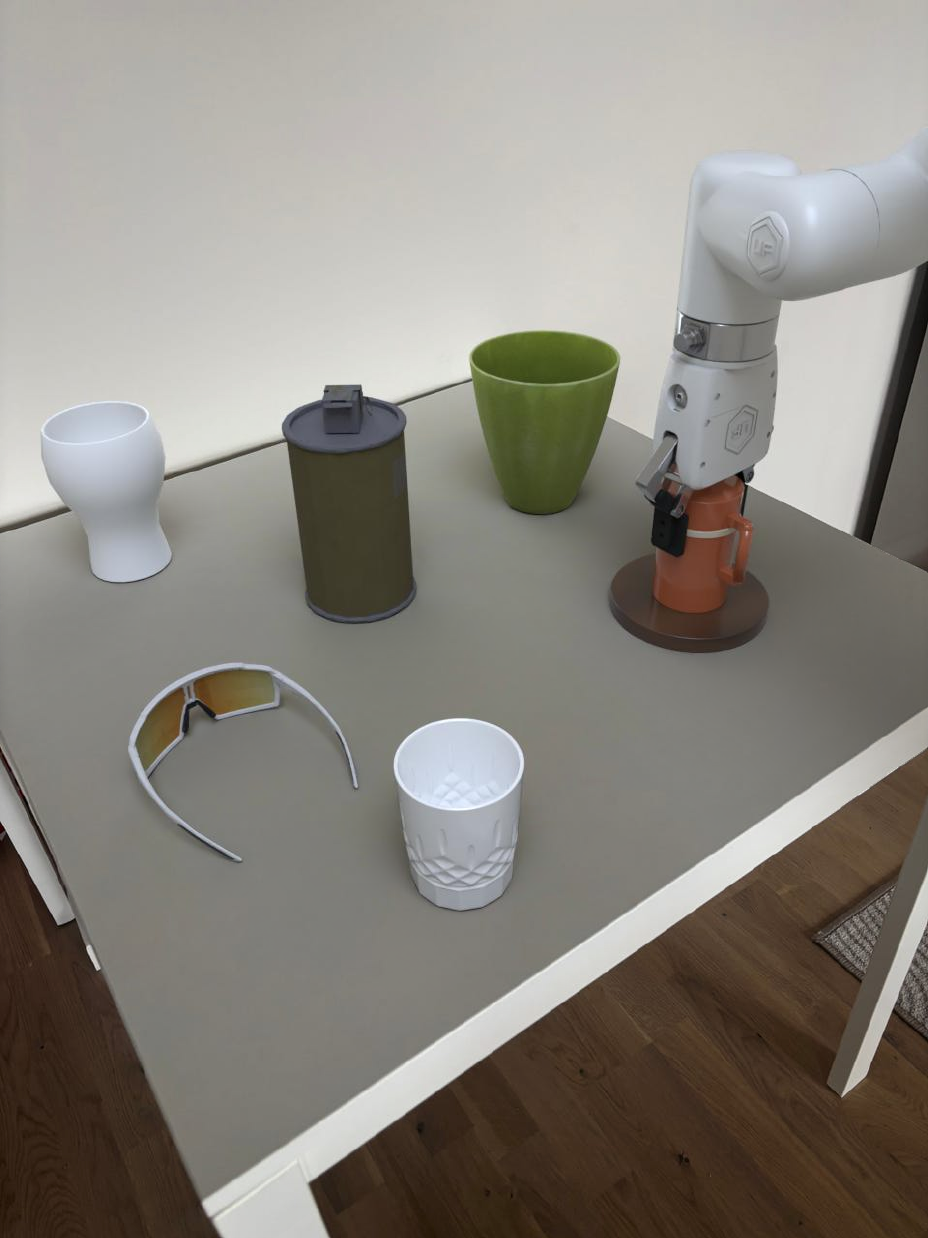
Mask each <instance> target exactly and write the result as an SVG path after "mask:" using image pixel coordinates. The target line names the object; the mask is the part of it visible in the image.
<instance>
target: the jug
mask: <svg viewBox="0 0 928 1238" xmlns="http://www.w3.org/2000/svg"><path fill="white" fill-rule="evenodd" d="M675 472H676V473H678V474H679V472H678V467H677V468H676V469H675ZM680 486H681V485H680V484H678V483H676V482H674V481H672V483H671V485H670V488H669V490H668V492H669V493H670V494H671V495H672V496H673V497H674V498H676V496H677V493H678V491H679V489H680ZM743 494H744V484H743V482H742V481H741V479H740V478H738V477H737V476H736V475H732V476H730V477H728V478H726V479H724V480H722V481H719V482H717V483H715V484H713V485H711V486H709V487H706V488H704V489H701V490H693V492H692V495H691V497H690V499H689V502H688V504H687V506H686V509H685V511H684V513H686V514H687V515H689V520H688V528H687V535H686V543H685V550H684V554H683V555H682V556H680V557H675V556H673V555H671V554H669V553H667V552H665V551H663V550H661V549H659V548H657V547H655V554H656V557H655V566H654V575H653V584H652V592H653V595H654V597H655V598H656V599H657V600H658V601H659V602H660V603H661V604H663V605H664V606H666V607H668V608H670V609H673V610H676V611H680V612H686V613H703V612H709V611H712V610H715V609H717V608H718V607H720V606H721V605H722V604H723V603H724V602H725V600H726V597H727V591H728V585H729V584H731V585H732V586H736V585H741V584H743V583H744V580H745V574H746V570H747V568H748V563H749V557H750V551H751V545H752V541H753V535H754V525H753V523H752V520H750V519H748V518H747V517H745V516H744V515H743V516H741V507H742V500H743ZM738 532H739V536H738V542H737V535H738ZM736 542H737V548H736ZM735 549H736V553H735ZM734 553H735V554H734ZM734 555H735V560H734ZM733 560H734V564H735V565H734V569H732V568H731V567H732V563H733Z"/></svg>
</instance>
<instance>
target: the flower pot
mask: <svg viewBox="0 0 928 1238" xmlns="http://www.w3.org/2000/svg"><path fill="white" fill-rule="evenodd" d="M468 361H469V367H470V374H471V379H472V381H471V382H472V386H473V393H474V399H475V403H476V409H477V413H478V418H479V422H480V427H481V430H482V435H483V439H484V441H485V446H486V448H487V452H488V455H489V458H490V459H489V460H490V461H491V465H492V467H493V471H494V473H495V477H496V479H497V482H498V485H499V487H500V489H501V491H502V494H503V496H504V499H505V502H506V503H507V504H508V505H509V506H510V507H512V508H513V509H515V510H517V511H520V512H522V513H527V514H534V515H548V514H550V515H551V514H555V513H560V512H561V511H564V510H566V509H567V508H569V507H570V506H571V505H572V504H573V503H574V500H575V498H576V496H577V495H578V492H579V491H580V488H581V486H582V484H583V482H584V479H585V478H586V476H587V473H588V471H589V469H590V466H591V464H592V461H593V458H594V456H595V453H596V451H597V449H598V445H599V442H600V440H601V436H602V434H603V430H604V428H605V425H606V421H607V418H608V414H609V410H610V407H611V403H612V400H613V395H614V391H615V386H616V383H617V378H618V373H619V368H620V365H621V355H620V353H619V351H618V350H617V349H616V348H615V346H613V345H611V344H610V343H608V342H607V341H604V340H602V339H600V338H597V337H594V336H590V335H587V334H582V333H578V332H572V331H564V330H543V329H540V330H539V329H538V330H524V331H515V332H509V333H504V334H500V335H497V336H494V337H491V338H488V339H485V340H483V341H481V342H480V343H478V344H477V345H476V346H474V347H473V348H472V350H471V351H470V353H469V355H468Z"/></svg>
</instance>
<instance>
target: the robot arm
mask: <svg viewBox="0 0 928 1238" xmlns="http://www.w3.org/2000/svg"><path fill="white" fill-rule="evenodd" d="M686 210H687V211H686V219H685V229H684V238H683V239H684V240H683V247H682V256H681V264H680V273H679V274H680V275H679V284H678V295H677V303H676V313H675V321H674V322H675V323H674V330H673V338H672V339H673V341H672V352H673V353H671V354H670V357H669V360H668V364H667V366H666V371H665V374H664V378H663V383H662V387H661V391H660V396H659V400H658V406H657V411H656V417H655V423H654V430H653V439H652V448H651V449H652V451H651V457H650V458H649V460H648V461H647V463H646V464H644V467H643V468H642V469H641V471H640V472H639V474H638V475H637V477H636V479H635V486H636V487H637V488H638V490H639V491H640V492H641V493H642V494H643V496H644V498H645V499H646V500H647V501H648V502H649V505H650V506H651V507H652V508H653V518H652V527H651V535H650V536H651V537H650V542H651V545H652V546H654V547H655V548H659V549H661V550H663V551H665V552H667V553H669V554H671V555H673V556H675V557H680V556H682V555H683V554H684V550H685V543H686V535H687V528H688V520H689V515H687V514H686V513H684V511H685V509H686V506H687V504H688V502H689V499H690V497H691V495H692V492H693V490H701V489H704V488H706V487H709V486H711V485H713V484H715V483H717V482H719V481H722V480H724V479H726V478H728V477H730V476H732V475H736V476H737V477H738V478H740V479H741V481H742V482H743V484H744V494H743V500H742V507H741V516H743V517H744V513H745V508H746V501H747V495H748V490H749V485H748V484H749V483H751V482H752V481H753V479H754V476H755V468H754V467H755V466H756V464H758V463H759V462H761V461H762V460H764V458H765V457H766V456H767V454H768V452H769V449H770V446H771V445H770V444H771V440H772V434H773V432H774V429H775V426H774V418H775V413H776V412H775V410H776V400H777V390H778V375H779V374H778V373H779V372H778V371H779V367H778V366H779V365H778V359H779V358H778V348H777V344H776V339H777V337H776V336H777V333H778V326H779V320H780V315H781V308H782V305H783V304H782V303H783V302H799V301H801V302H802V301H804V300H810V299H813V298H818V297H821V296H822V297H823V296H825V295H826V296H827V295H830V294H834V293H837V292H841V291H844V290H846V289H849V288H852V287H857V286H859V285H865V284H868V283H869V284H870V283H872V282H876V281H881V280H884V279H888V278H893V277H896V276H898V275H899V276H900V275H902V274H904V273H907V272H909V271H911V270H914V269H915V268H917V267H919V266H921V265H923V264H925V263H926V262H928V124H927V125H926V126H925V127H923V128H921V130H920V131H918V132H917V133H916V134H914V136H912V137H911V139H909V140H908V141H907V142H905V143H904V144H903V145H902V146H900V147H899V148H898V149H897V150H895V151H894V152H892V153H891V154H889V155H888V156H887V157H885V158H883V159H879V160H873V161H867V162H859V163H856V164H850V165H845V166H838V167H834V168H828V169H826V170H821V171H814V172H807V173H802V172H801V168H800V167H799V165H798V163H796V160H794V159H792V158H791V157H788V156H787V155H783V154H781V153H777V152H772V151H762V150H728V151H727V150H725V151H721V152H716V153H713V154H710V155H708V156H706V157H704V158H702V160H700V161H699V162H698V164H697V165H696V166H695V167H694V170H693V172H692V176H691V179H690V184H689V191H688V201H687V209H686ZM677 467H678V472H679V474H678V473H676V472H675V469H676V468H677ZM672 481H674V482H676V483H678V484H680V485H681V486H680V489H679V491H678V493H677V496H676V498H674V497H673V496H672V495H671V494H670V493H669V492H668V490H669V488H670V485H671V483H672Z"/></svg>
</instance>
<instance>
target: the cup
mask: <svg viewBox="0 0 928 1238" xmlns="http://www.w3.org/2000/svg"><path fill="white" fill-rule="evenodd" d="M40 448H41V449H40V453H41V460H42V464H43V467H44V470H45V473H46V477H47V479H48V482H49V484H50V485H51V487H52V488H53V490H54V491H55V493H56V494H57V496H58V497H59V499H60V500H61V502H62V503H63V504H64V505H65V506H66V507H67V508H68V509H69V510H70V511H71V512H72V513H73V514H75V516H77V518H79V520H80V523H81V525H82V526H83V529H84V531H85V533H86V534H85V535H86V536H87V542H88V555H89V563H90V568H91V572H92V574H93V575H94V576H96V577H97V579H100V580H103V581H106V582H112V583H129V582H136V581H140V580H143V579H146V578H149V577H151V576H154V575H156V574H157V573H159V572H161V571H162V570H164V569H165V568H166V567H167V566H168V565H169V564H170V562H171V560H172V557H173V556H172V554H173V553H172V552H173V551H172V550H171V547H170V544H169V542H168V540H167V537H166V535H165V533H164V531H163V529H162V526H161V524H160V517H159V506H158V505H159V504H158V502H159V499H160V496H161V492H162V490H163V486H164V482H165V481H164V479H165V470H166V453H165V449H164V443H163V439H162V436H161V434H160V432H159V429H158V428H157V426H156V424H155V422H154V420H153V418H152V416H151V414H150V412H149V411H148V409H147V408H146V407H144V406H142V405H141V404H138V403H135V402H131V401H123V400H101V401H92V402H88V403H82V404H79V405H75V406H71V407H69V408H66V409H63V410H61V411H59V412H56V413H55V414H53V415H52V416H50V417H48V418H47V419H46V420H45V421H44V423H42V425H41V428H40Z"/></svg>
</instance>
